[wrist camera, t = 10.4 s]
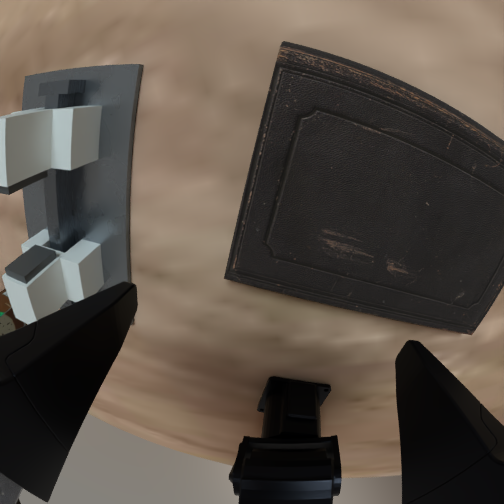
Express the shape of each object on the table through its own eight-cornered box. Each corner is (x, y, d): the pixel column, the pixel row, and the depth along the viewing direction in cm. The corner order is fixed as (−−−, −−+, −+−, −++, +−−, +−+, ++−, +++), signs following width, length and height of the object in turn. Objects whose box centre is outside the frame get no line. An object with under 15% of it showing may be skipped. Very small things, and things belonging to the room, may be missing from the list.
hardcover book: (462, 320, 23) (472, 335, 21) (229, 262, 23) (223, 279, 21) (534, 170, 15) (550, 178, 13) (283, 46, 15) (282, 37, 13)
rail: (133, 321, 26) (122, 339, 24) (43, 288, 26) (29, 301, 24) (143, 64, 16) (124, 61, 13) (29, 76, 16) (8, 77, 14)
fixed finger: (98, 167, 19) (27, 200, 12) (38, 161, 19) (-28, 189, 12) (102, 105, 17) (24, 116, 10) (39, 107, 17) (-31, 123, 10)
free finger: (104, 283, 24) (58, 339, 17) (50, 265, 24) (2, 310, 17) (100, 237, 21) (42, 288, 15) (43, 223, 22) (-13, 262, 15)
